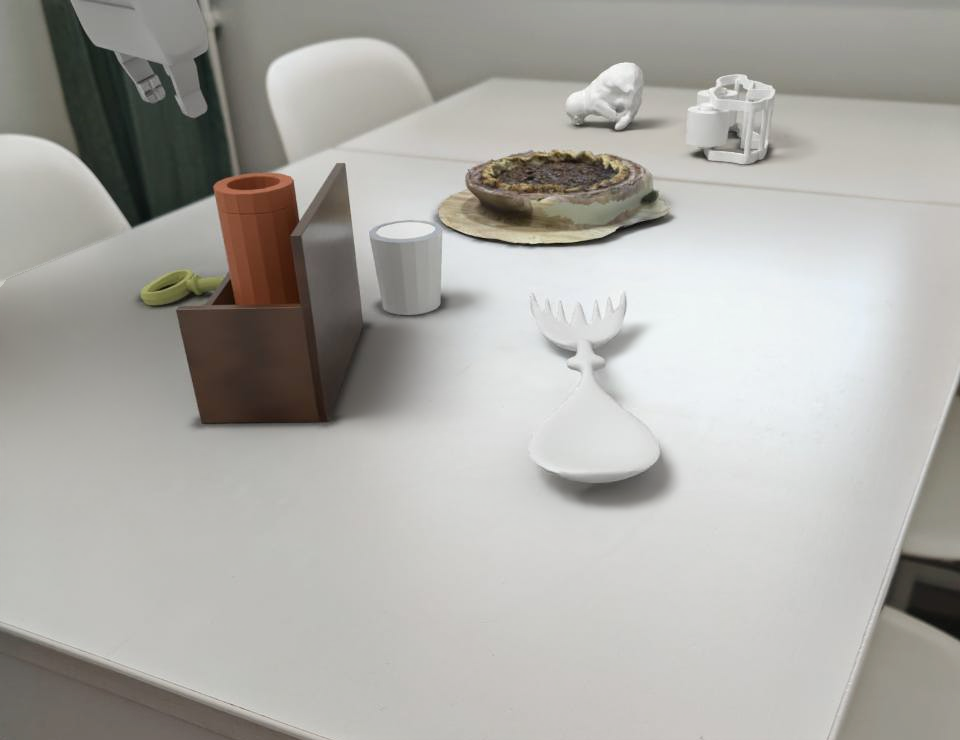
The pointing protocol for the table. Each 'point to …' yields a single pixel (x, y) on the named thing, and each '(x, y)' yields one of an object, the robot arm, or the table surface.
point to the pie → (552, 197)
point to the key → (177, 287)
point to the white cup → (408, 265)
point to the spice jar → (259, 236)
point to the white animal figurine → (609, 96)
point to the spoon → (589, 406)
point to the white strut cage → (731, 119)
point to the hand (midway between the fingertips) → (175, 107)
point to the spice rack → (282, 328)
